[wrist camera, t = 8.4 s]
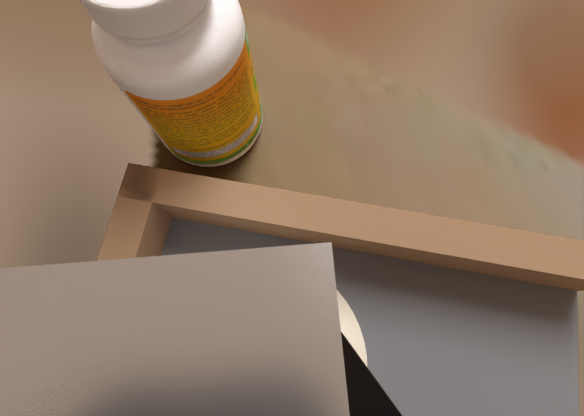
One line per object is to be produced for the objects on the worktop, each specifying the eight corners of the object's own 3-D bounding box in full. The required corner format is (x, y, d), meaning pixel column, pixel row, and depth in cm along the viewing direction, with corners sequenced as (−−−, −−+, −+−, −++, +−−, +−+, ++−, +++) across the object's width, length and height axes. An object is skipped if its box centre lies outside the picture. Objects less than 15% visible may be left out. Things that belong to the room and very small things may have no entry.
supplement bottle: (285, 123, 20) (268, -48, 11) (205, 190, 19) (111, 68, 10) (219, 60, 21) (152, -144, 12) (141, 120, 20) (2, -49, 11)
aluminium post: (319, 427, 14) (430, 1180, 2) (200, 436, 14) (-506, 1234, 2) (309, 304, 16) (331, 241, 3) (199, 312, 16) (-221, 285, 3)
